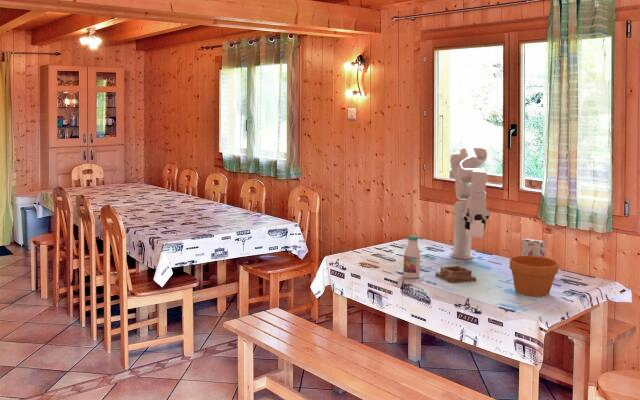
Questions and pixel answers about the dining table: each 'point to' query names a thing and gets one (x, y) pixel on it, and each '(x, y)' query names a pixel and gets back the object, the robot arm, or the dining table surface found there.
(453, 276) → the bottle stand
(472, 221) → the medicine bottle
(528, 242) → the candy bar box
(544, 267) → the flower pot
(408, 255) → the milk bottle
